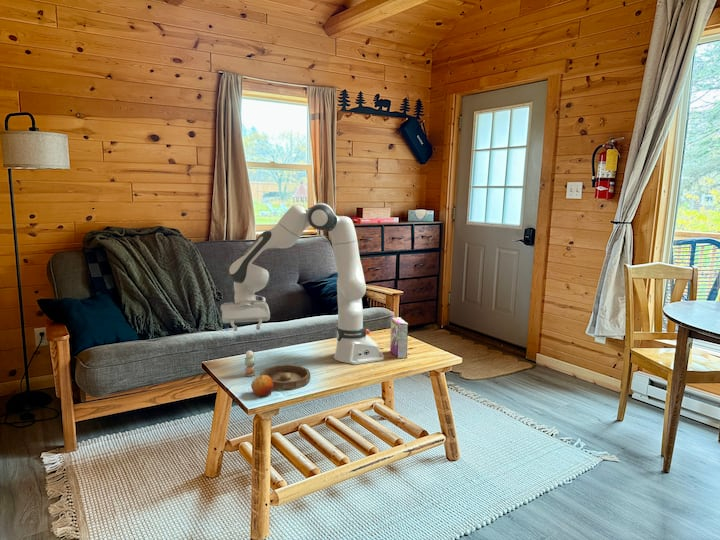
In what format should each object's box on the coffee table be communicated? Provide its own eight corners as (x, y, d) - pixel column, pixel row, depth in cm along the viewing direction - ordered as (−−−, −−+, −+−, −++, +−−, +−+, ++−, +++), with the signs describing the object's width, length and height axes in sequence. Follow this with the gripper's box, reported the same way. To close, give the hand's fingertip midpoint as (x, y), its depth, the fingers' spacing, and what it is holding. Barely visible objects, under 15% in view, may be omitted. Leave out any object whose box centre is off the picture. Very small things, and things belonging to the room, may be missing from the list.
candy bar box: (389, 351, 235) (390, 317, 232) (399, 350, 236) (400, 317, 233) (396, 359, 224) (398, 323, 221) (407, 358, 225) (408, 323, 222)
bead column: (254, 373, 203) (254, 348, 202) (255, 376, 199) (255, 351, 198) (244, 374, 202) (244, 349, 200) (245, 377, 198) (244, 352, 197)
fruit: (280, 393, 180) (268, 376, 178) (261, 405, 179) (249, 388, 177) (277, 384, 188) (266, 368, 186) (259, 396, 187) (247, 380, 184)
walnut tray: (304, 370, 208) (304, 363, 207) (313, 387, 190) (314, 379, 189) (258, 374, 202) (258, 367, 202) (263, 392, 184) (263, 384, 184)
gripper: (220, 299, 212) (221, 327, 204) (268, 297, 218) (271, 324, 210) (220, 306, 217) (221, 334, 209) (267, 304, 223) (270, 332, 215)
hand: (246, 329), depth 210 cm, fingers open, 8 cm apart
